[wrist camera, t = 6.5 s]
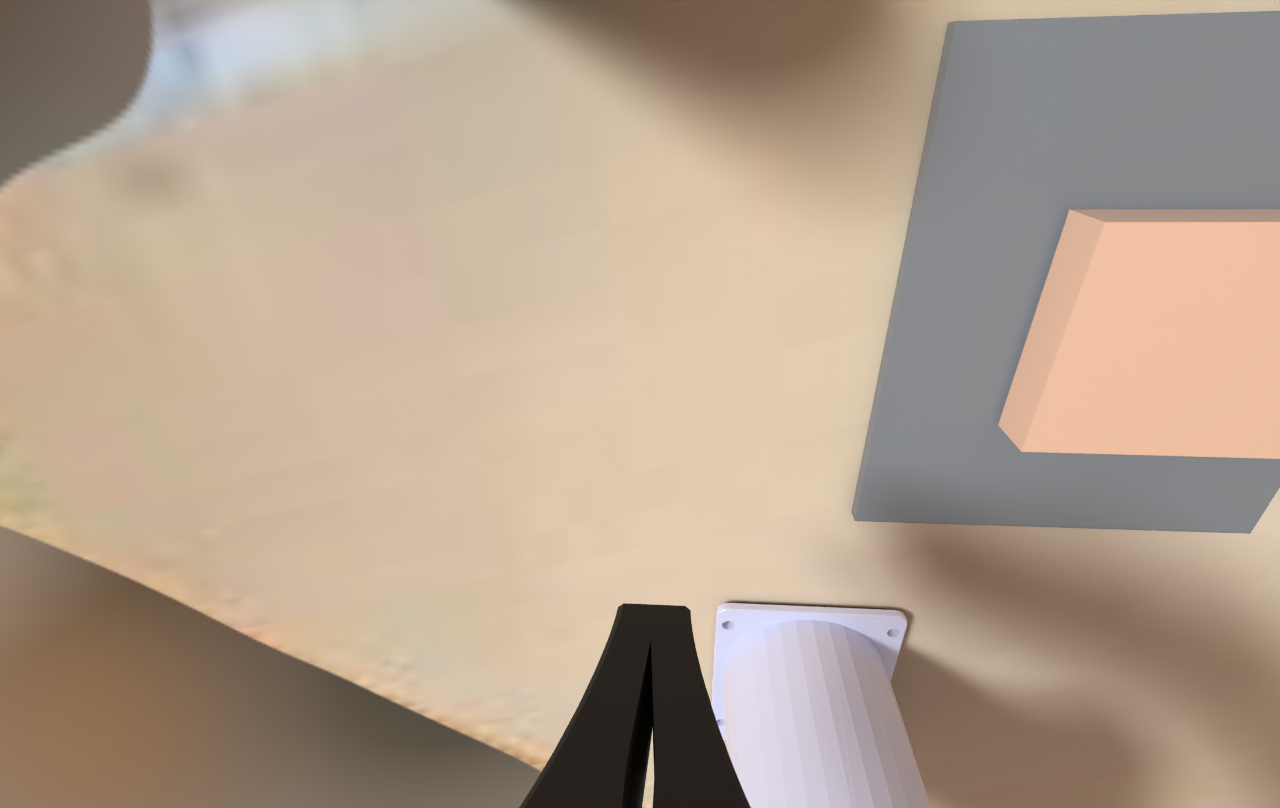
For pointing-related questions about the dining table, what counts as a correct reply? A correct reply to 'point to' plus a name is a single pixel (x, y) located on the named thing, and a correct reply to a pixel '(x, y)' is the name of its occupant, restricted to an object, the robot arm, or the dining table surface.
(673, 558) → the dining table surface
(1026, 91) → the slate pad
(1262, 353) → the tile
